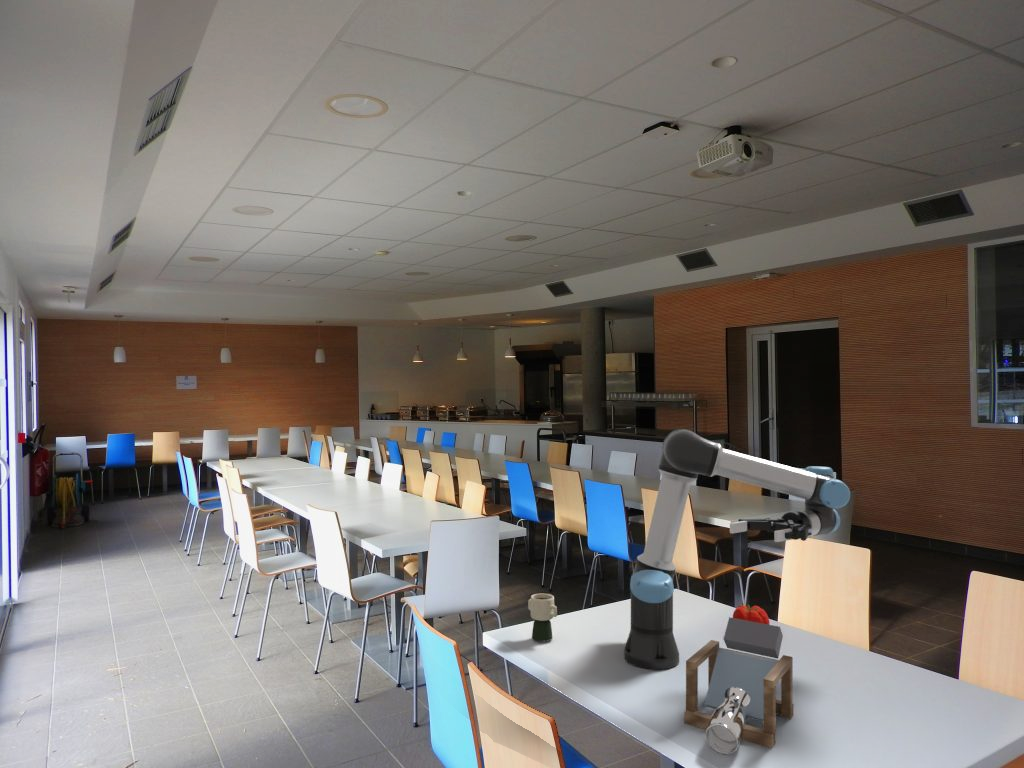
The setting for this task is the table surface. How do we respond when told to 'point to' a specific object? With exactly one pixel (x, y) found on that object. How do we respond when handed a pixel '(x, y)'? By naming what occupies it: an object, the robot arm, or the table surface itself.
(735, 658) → the trapdoor
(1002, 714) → the table surface
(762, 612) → the tomato
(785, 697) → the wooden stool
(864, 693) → the table surface
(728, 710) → the beer glass
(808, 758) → the table surface
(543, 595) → the character mug
